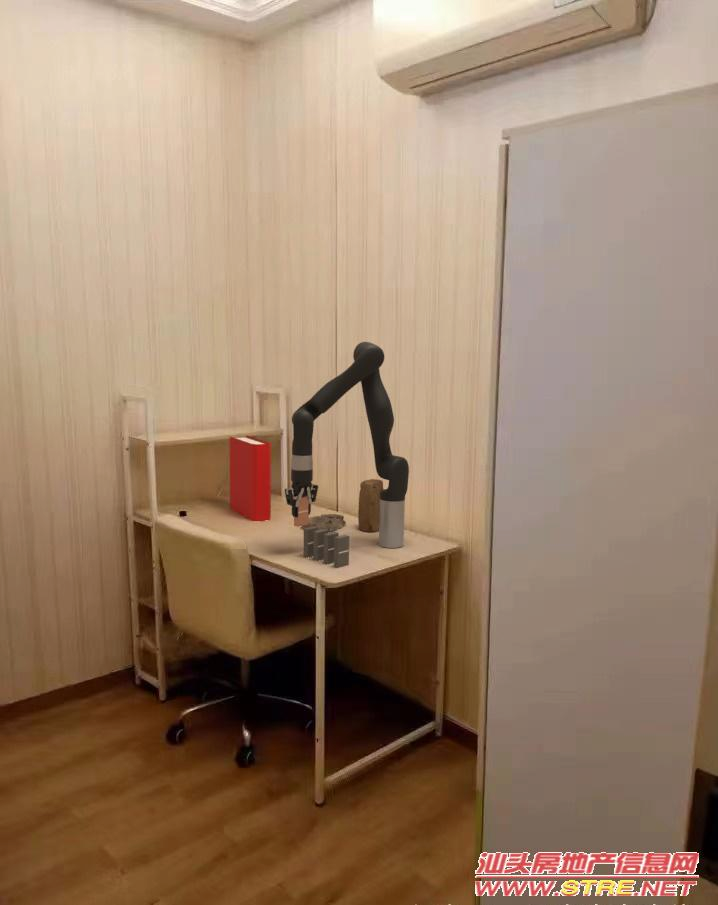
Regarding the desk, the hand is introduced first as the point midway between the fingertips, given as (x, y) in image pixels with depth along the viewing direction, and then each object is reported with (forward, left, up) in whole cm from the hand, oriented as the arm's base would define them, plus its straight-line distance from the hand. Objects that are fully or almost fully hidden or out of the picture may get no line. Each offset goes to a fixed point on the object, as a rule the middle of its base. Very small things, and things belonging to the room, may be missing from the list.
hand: (301, 515), depth 255 cm
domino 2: (+3, +4, -13) cm, 14 cm away
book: (-57, -24, -14) cm, 63 cm away
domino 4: (+10, +11, -13) cm, 20 cm away
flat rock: (-37, +8, -14) cm, 40 cm away
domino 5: (+14, +14, -13) cm, 24 cm away
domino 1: (0, 0, -3) cm, 3 cm away
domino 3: (+7, +7, -13) cm, 17 cm away
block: (-34, +27, -14) cm, 45 cm away
